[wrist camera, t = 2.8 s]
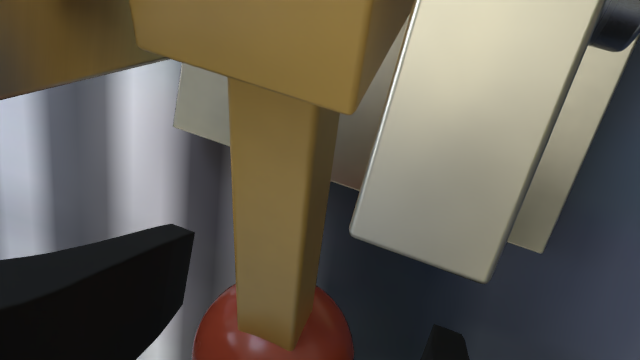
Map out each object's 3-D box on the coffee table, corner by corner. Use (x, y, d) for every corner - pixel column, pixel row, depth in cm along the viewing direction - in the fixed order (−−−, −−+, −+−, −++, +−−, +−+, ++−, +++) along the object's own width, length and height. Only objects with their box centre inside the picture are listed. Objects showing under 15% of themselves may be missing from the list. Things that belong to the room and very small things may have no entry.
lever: (363, 352, 14) (311, 492, 11) (239, 303, 14) (169, 427, 12) (564, -322, 5) (499, -251, 3) (215, -376, 5) (-59, -354, 3)
